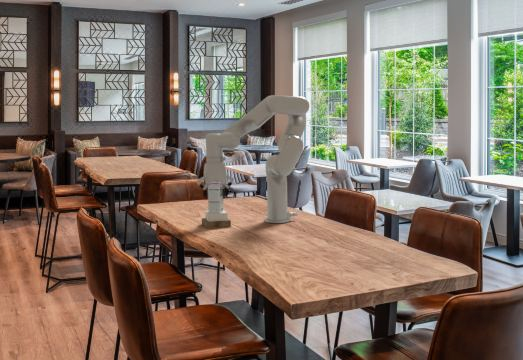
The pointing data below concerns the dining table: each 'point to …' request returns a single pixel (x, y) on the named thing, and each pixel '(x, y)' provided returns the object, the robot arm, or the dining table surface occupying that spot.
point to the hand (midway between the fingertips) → (215, 197)
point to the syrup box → (215, 197)
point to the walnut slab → (215, 223)
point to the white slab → (216, 216)
